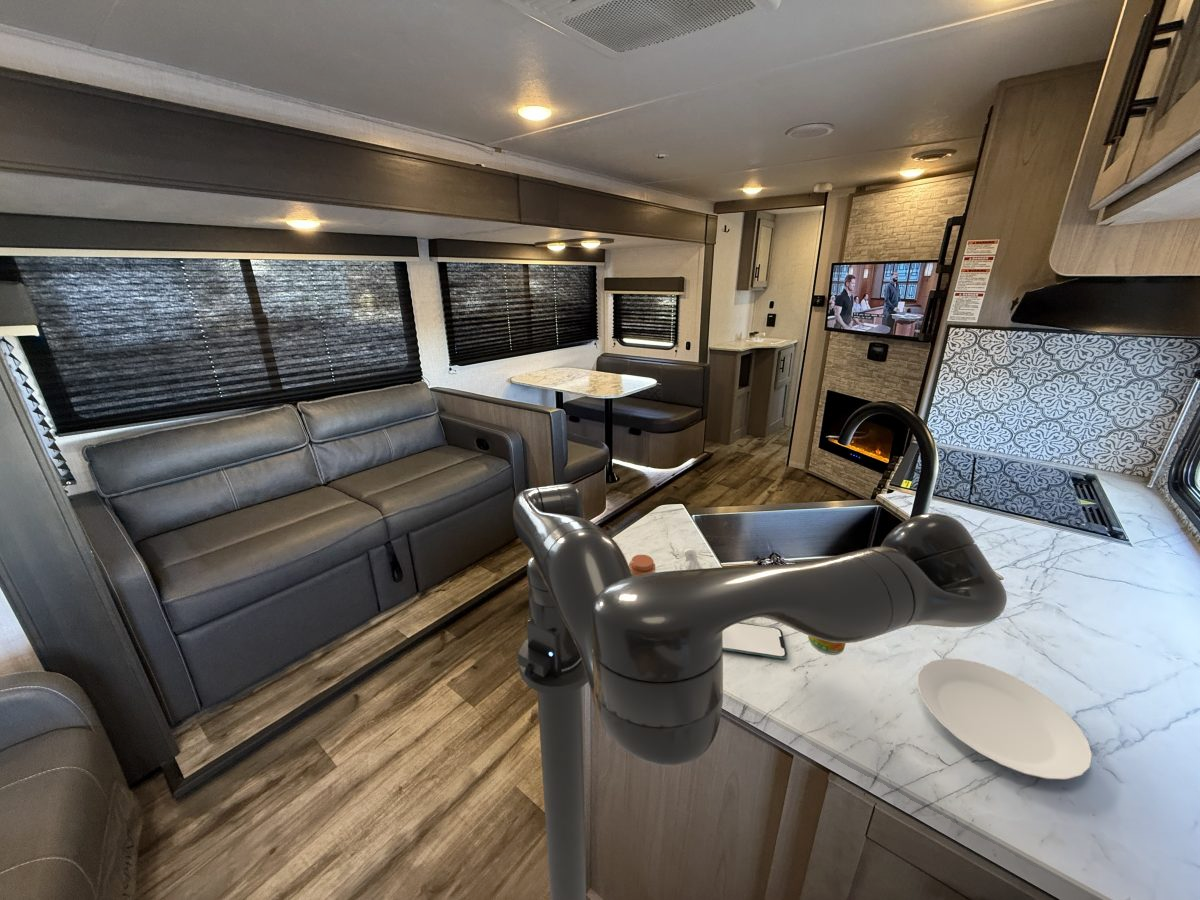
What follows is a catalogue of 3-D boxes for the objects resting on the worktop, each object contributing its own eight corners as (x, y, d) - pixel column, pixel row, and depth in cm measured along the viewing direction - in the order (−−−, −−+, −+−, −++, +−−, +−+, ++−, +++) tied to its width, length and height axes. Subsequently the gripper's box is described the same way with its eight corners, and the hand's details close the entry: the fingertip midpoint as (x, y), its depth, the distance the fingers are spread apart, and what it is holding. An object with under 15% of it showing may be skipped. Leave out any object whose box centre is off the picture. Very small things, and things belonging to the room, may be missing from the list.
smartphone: (698, 647, 87) (787, 660, 83) (698, 644, 86) (788, 658, 83) (698, 618, 94) (781, 630, 90) (698, 616, 94) (781, 627, 90)
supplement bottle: (806, 649, 73) (817, 599, 70) (808, 627, 78) (818, 579, 74) (844, 660, 71) (856, 609, 68) (843, 638, 76) (855, 589, 72)
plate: (947, 650, 86) (950, 641, 85) (1105, 740, 69) (1111, 729, 68) (889, 703, 75) (892, 692, 74) (1058, 823, 59) (1065, 811, 58)
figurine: (684, 584, 104) (687, 538, 100) (719, 592, 101) (724, 546, 97) (676, 605, 98) (679, 557, 93) (714, 614, 95) (719, 565, 91)
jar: (647, 607, 97) (648, 571, 94) (623, 599, 100) (624, 563, 96) (657, 593, 101) (659, 557, 98) (635, 585, 104) (636, 550, 101)
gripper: (928, 569, 59) (873, 588, 75) (810, 558, 62) (780, 579, 77) (938, 630, 56) (879, 638, 72) (814, 617, 59) (782, 627, 74)
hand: (828, 607), depth 74 cm, fingers closed on supplement bottle, 5 cm apart
